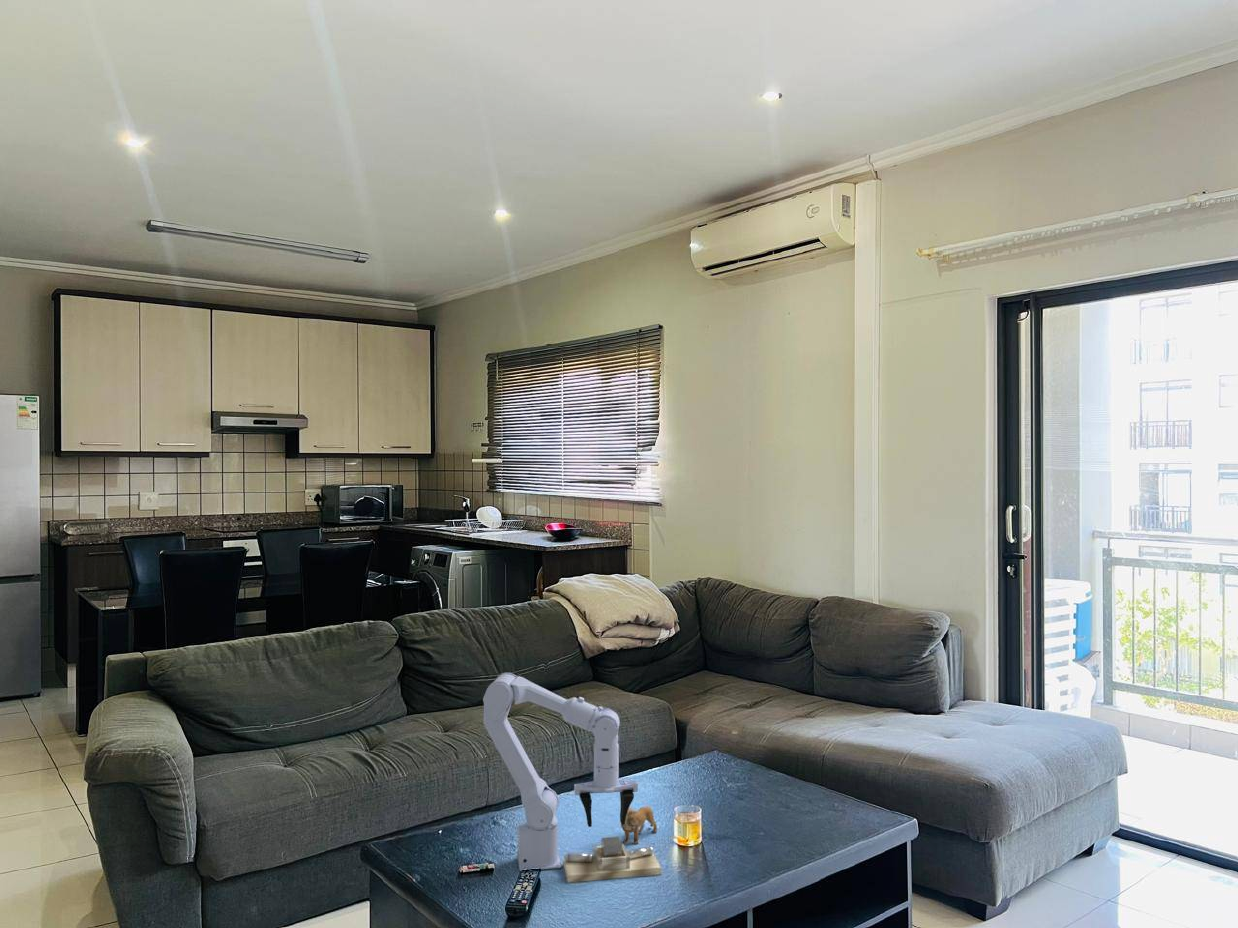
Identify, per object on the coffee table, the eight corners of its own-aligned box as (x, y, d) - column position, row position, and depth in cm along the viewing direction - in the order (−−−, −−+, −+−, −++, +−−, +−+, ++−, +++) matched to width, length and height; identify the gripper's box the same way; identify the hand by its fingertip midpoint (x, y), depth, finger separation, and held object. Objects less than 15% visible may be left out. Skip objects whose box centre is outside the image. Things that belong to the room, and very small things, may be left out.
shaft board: (568, 882, 193) (568, 864, 193) (562, 864, 201) (562, 846, 201) (661, 874, 196) (661, 856, 196) (652, 856, 205) (652, 839, 205)
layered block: (604, 867, 196) (604, 845, 197) (601, 859, 200) (601, 837, 200) (621, 865, 197) (621, 843, 197) (618, 858, 201) (618, 836, 201)
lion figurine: (635, 851, 208) (635, 813, 209) (615, 847, 211) (615, 809, 211) (661, 829, 221) (661, 793, 222) (642, 825, 224) (642, 789, 224)
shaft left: (594, 860, 200) (594, 852, 200) (593, 863, 198) (593, 855, 198) (564, 859, 201) (564, 851, 201) (563, 862, 199) (563, 854, 199)
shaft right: (628, 860, 200) (628, 852, 200) (625, 857, 201) (625, 849, 201) (655, 855, 203) (655, 847, 203) (651, 852, 204) (651, 844, 204)
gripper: (577, 772, 196) (576, 832, 196) (640, 768, 199) (640, 828, 199) (573, 761, 203) (572, 820, 203) (634, 758, 206) (634, 816, 206)
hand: (605, 823), depth 201 cm, fingers open, 7 cm apart
